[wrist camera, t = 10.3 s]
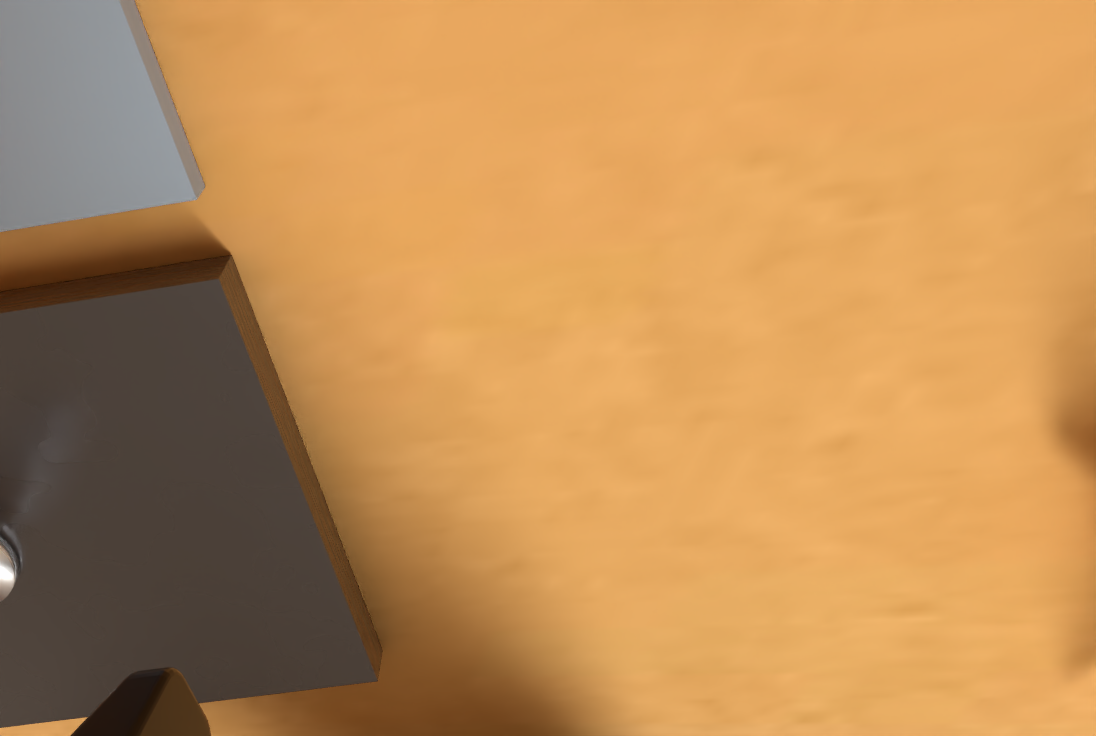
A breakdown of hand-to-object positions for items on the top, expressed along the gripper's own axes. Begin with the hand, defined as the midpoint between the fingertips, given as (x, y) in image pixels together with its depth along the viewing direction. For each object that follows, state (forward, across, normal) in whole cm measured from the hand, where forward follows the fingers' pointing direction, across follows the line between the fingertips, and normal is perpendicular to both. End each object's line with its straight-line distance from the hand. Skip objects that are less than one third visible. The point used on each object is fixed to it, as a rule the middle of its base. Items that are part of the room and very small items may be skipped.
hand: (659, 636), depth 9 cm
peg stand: (+12, +14, +7) cm, 19 cm away
